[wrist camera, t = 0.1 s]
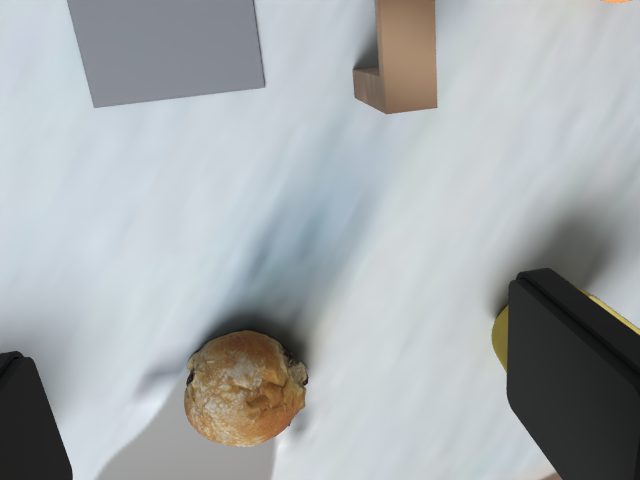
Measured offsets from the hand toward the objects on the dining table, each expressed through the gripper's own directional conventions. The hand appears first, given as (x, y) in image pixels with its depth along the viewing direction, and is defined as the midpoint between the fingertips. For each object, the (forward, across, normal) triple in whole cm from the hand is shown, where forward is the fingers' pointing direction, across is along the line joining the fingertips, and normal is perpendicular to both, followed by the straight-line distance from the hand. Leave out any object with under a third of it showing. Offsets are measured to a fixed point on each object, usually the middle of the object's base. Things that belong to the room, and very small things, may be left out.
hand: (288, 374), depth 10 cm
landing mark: (+31, +5, -9) cm, 33 cm away
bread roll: (+32, +4, +21) cm, 38 cm away
